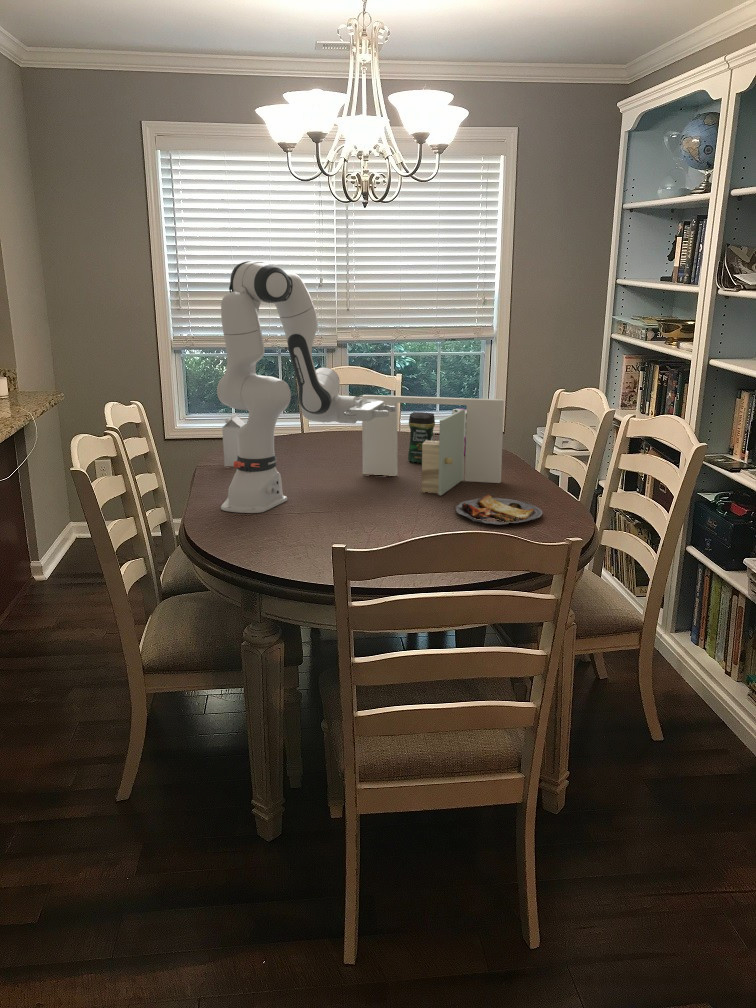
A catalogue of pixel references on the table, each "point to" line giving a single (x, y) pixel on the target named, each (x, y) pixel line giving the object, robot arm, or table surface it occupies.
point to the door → (451, 451)
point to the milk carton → (231, 439)
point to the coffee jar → (419, 433)
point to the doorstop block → (430, 466)
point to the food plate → (497, 510)
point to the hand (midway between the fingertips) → (391, 411)
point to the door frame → (480, 437)
